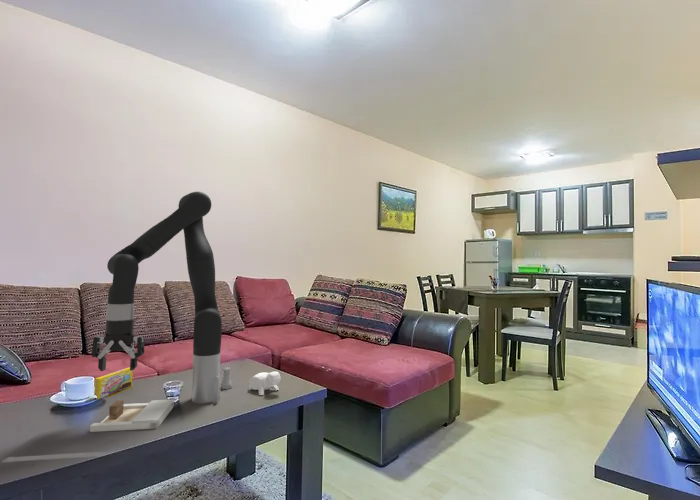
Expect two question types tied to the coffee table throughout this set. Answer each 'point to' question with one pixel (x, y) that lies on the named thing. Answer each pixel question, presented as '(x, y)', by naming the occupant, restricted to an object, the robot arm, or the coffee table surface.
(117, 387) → the candy box
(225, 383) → the rook chess piece
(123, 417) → the cover plate
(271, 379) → the white elephant figurine
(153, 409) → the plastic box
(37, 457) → the coffee table surface
